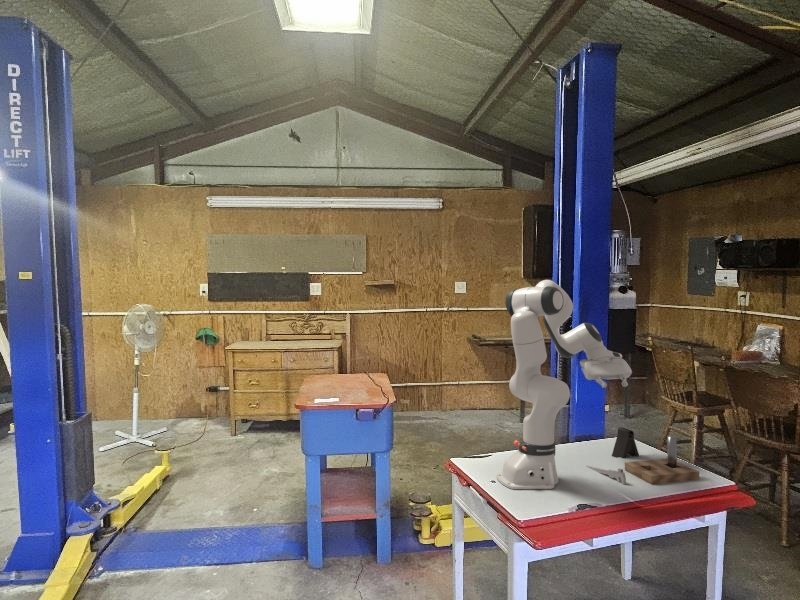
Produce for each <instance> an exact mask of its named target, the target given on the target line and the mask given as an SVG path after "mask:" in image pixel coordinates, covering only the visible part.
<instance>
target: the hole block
mask: <svg viewBox="0 0 800 600" xmlns="http://www.w3.org/2000/svg"><path fill="white" fill-rule="evenodd" d="M624 471H626V473H629V474H631V475H633V476H635V477H636V478H638V479H640V480H641V481H644V482H645V483H648V484H650V485H651V486H652V485H654V486H655V485H663V484H670V483H678V482H679V483H680V482H689V481H700V471H699V470H697V469H695V468H693V467H690V466H688V465H686V464H683V463H681V462H678V461H677V468H670V467H668V459H667V458H659V459H650V460H638V461H637V460H636V461H628V462H627V461H625V462H624Z"/></svg>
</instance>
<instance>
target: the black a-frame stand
mask: <svg viewBox="0 0 800 600" xmlns="http://www.w3.org/2000/svg"><path fill="white" fill-rule="evenodd" d="M611 457H613V458H615V457H616V459H617V458H618V459H619V458H621V459H626V458H628V457H637V458H638V457H640V453H639V450H638V446H637V444H636V441H635V433H634V431H633V430H631V429H629V428H625V427H620V426H618V427H617V436H616V440H615V443H614V446H613V450H612V453H611Z"/></svg>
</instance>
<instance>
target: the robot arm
mask: <svg viewBox="0 0 800 600" xmlns="http://www.w3.org/2000/svg"><path fill="white" fill-rule="evenodd" d="M504 303H505V308H506V311H507V312H508V314H509V315H510V317H511V318H510V332H511V338H512V345H513V349H514V354H515V360H516V361H515V362H516V363H515V364H516V365H515V367H516V368H515V372H514V374H513V375H512V376H511V378H510V379H509V385H508V386H509V387H508V388H509V391H510V393H511V394H512V395H513V396H515V397H516V398H518V399H519V400H521V401H524V402H528V403H530V404H532V407H531V408H532V409H531V412H530V413H529V414H527V415H526V416H525V417H524V418H523V421H522V431H523V432H522V434H523V436H522V439H521V442H520V441H518V440H516V439H515V440H514V441H513V445H514V446H515V447H517V448H518V450H517V451H515V452H514V453H513V454H512V455H511V456H509V457H508V458H507V459H505V461H504V463H503V467H502V471H499V472H497V473H496V478H497V481H498V482H500V484H502V485H503V486H505V487H506V488H508V489H511V490H539V489H540V490H544V489H545V490H552V489H554V488H555V485H557V484H558V483H559V482H560V479H559V476H558V471H557V465H556V459H555V458H556V457H555V456H556V441H555V422H556V419H557V415H558V413H559V411H560V410H561V409H562V408H563V407H565V406H566V405H567V404H568V402H569V399H570V398H571V391H570V388H569V386H568V384H567V383H566V382H564V381H563V380H560V379H558V378H556V377H554V376H549V375H545V374H542V371H541V366H542V365H543V364H544V363H545V362H546V360H547V359H548V358H547V357H548V354H547V353H548V352H547V349H546V343H545V339H544V335H543V334H544V333H543V330H542V327H541V324H540V321H539V317H542V322H543V325H544V326H545V328H546V331H547V332H548V335H549V336H550V338H551V340H552V342H553V344H554V348H555V350H556V352H557V353H558V355H560V357H562V358H565V359H571V358H572V357H574V356H575V355H577V354H578V353H580V352H582V351H583V352H584V353H585V356H586V358H587V359H581V360H580V361H579V365H580V367H581V370H582V373H583V375H584V377H585V379H586V380H588V381H595V382H596V383H597V384H599V386H601V388H603V389H605V388H607V387H608V383H607V382H606V381H604V380H612V379H613V380H615V379H620V380H621V381H622V382H621V385H622V387H627V386H628V385H629V383H628V382H627V379H628V378H630V376H631V375H632V373H633V371H632V368H631V367H630V364H628V362H627V361H626V360H625V359H624V358H623V355H622V354H621V353H619V352H616V351H615V352H614V351H612V350H609V349H607V347H606V346H605V345H604V341H603V340H602V338H603V336H602V335H601V333H600V331H599V330H598V328H597V327H596V326H595V324H593V323H589V322H582V323H581V324H579V325H578V326H576V327H574V328H572V329H571V330H569V331H567V332H566V333H563V334H561V333H560V332H559V328H560V327H561V326H562V325H563V324H564V323H565V322H566V321H567V320H568V319H569V318H570V317H571V315H572V313H573V311H574V310H573V309H574V303H573V301H572V299H571V298H570V296H569V294H568V293H567V292H566V291H565V290H564V289H563V288H562V287H561V286H560V285H559V284H557V283H556V282H555V281H553V280H552V279H544V280H540V281H539V282H538V283H536V285H535V286H528V287H522V288H515V289H512V290H510V291H508V292H507V294H506V296H505V301H504Z"/></svg>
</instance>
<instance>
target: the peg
mask: <svg viewBox="0 0 800 600" xmlns="http://www.w3.org/2000/svg"><path fill="white" fill-rule="evenodd" d="M666 439H667V440H666V443H667V444H666V447H667V448H666V449H667V457H666V459H668V467H670V468H677V462H678V459H677V458H678V457H677V454H678V453H677V451H678V449H677V436H676V435H671V434H669V435H666Z"/></svg>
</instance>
